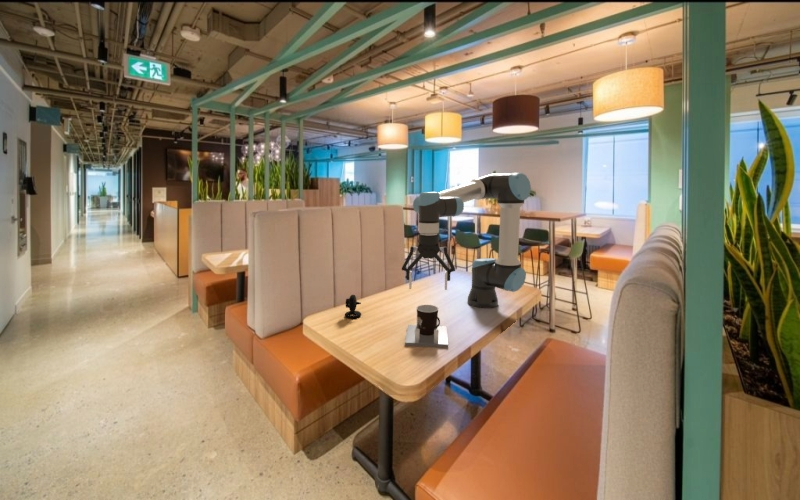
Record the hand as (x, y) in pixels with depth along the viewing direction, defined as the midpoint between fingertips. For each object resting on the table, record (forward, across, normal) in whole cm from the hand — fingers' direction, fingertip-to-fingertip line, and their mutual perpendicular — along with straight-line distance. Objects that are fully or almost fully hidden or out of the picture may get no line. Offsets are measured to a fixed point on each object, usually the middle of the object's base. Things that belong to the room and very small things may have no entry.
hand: (428, 288), depth 131 cm
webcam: (+20, +34, -19) cm, 44 cm away
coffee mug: (+19, 0, 0) cm, 19 cm away
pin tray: (+20, 0, 0) cm, 20 cm away
